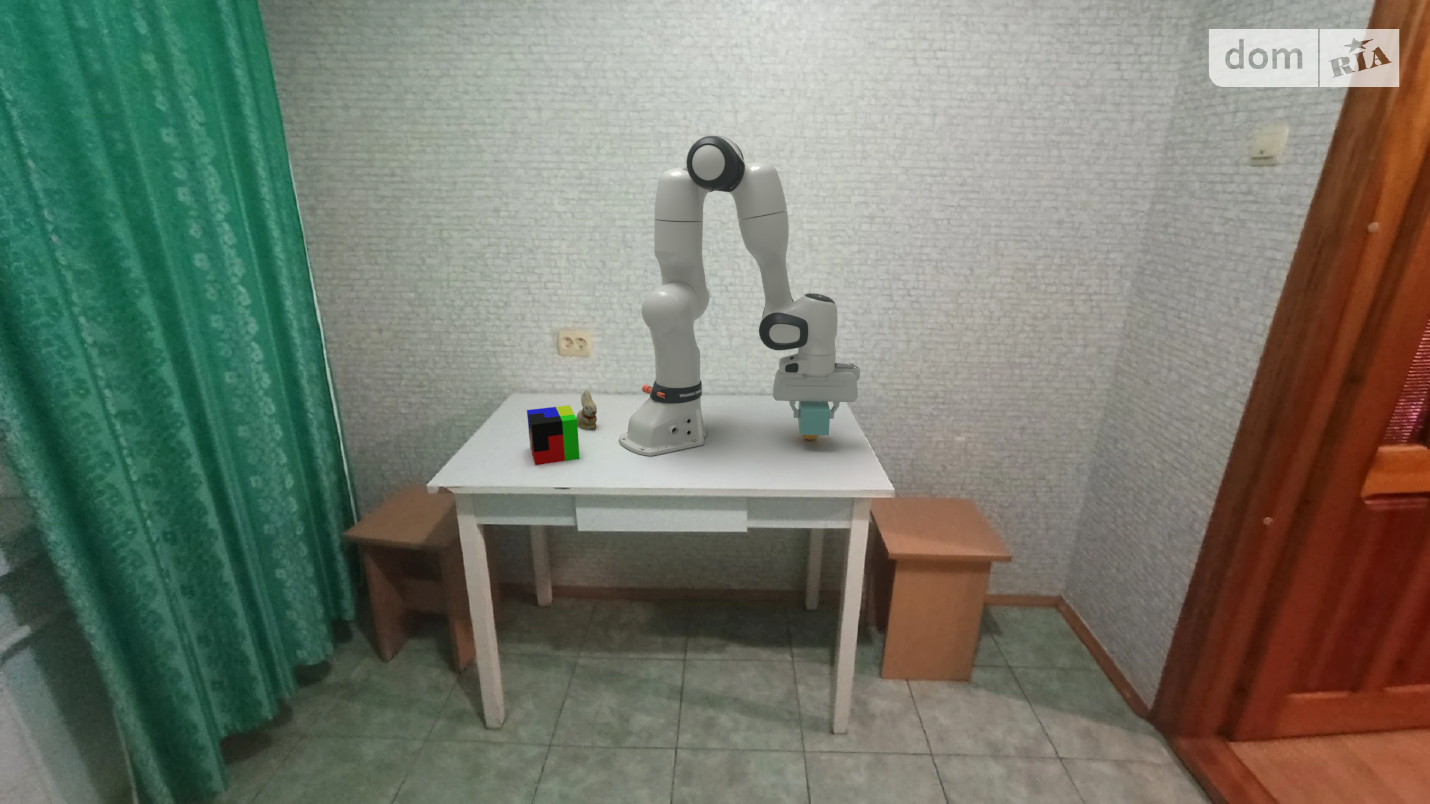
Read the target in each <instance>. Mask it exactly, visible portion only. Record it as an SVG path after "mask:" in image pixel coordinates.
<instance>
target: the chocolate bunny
mask: <svg viewBox="0 0 1430 804" xmlns="http://www.w3.org/2000/svg"><path fill="white" fill-rule="evenodd" d="M580 397H581V398H580V399H581V401H580V402H581V406H582V409H580V410H578V412H577V414H576V418H577V425H578V429H579V428H580V429H581V430H586V431H593V430H595V429H596V428H597V420H598V419H597V418H598V417H597V413H598V412H597V411H598V409H597V404H596V403H595V402H594V400H593V398H592V394H591V392H590V391H589V390H587V389H586V390H584V391H583V392H582V394H581V396H580Z"/></svg>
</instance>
